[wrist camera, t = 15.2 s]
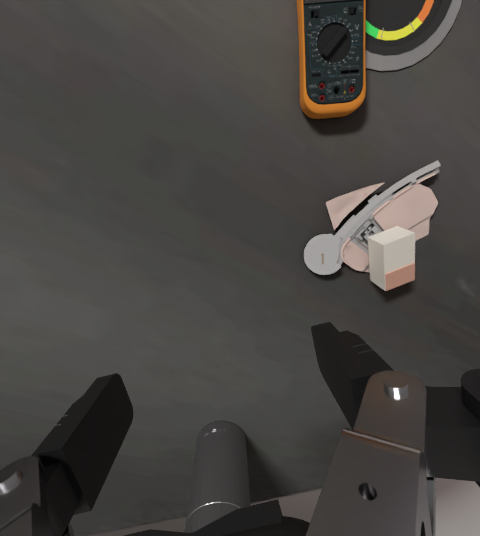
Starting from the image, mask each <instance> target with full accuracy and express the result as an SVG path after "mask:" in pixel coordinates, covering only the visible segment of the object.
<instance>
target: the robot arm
mask: <svg viewBox="0 0 480 536" xmlns="http://www.w3.org/2000/svg"><path fill="white" fill-rule="evenodd" d="M311 331H312V336H313V341H314V346H315V351H316V356H317V361H318V365H319V368H320V371H321V373H322V376H323V378H324V379H325V381H326V383H327V385H328V387H329V388H330V390H331V392H332V394H333V396H334V397H335V399H336V401H337V403H338V405H339V406H340V408H341V410H342V412H343V413H344V415H345V417H346V419H347V421H348V422H349V424H350V426H351V428H352V430H350V429H347V428H345V429H344V430H343V431H342V433H341V435H340V438H339V441H338V444H337V447H336V450H335V453H334V456H333V458H332V461H331V464H330V467H329V470H328V473H327V476H326V479H325V482H324V485H323V487H322V490H321V493H320V496H319V499H318V502H317V505H316V508H315V511H314V513H313V517H312V519H311V522H310V523H309V522H306V521H304V520H300V519H297V518H292V517H285V516H282V513H281V509H280V505H279V502H278V500H274V501H269V502H265V503H261V504H257V505H252V506H251V505H250V491H249V477H248V463H247V448H246V438H245V435H244V433H243V431H242V430H241V429H240V428H239V427H238V426H236V425H235V424H233V423H230V422H223V421H220V422H214V423H211V424H209V425H207V426H206V427H204V428H203V429H202V430H201V432H200V433H199V435H198V438H197V444H196V451H195V458H194V464H193V471H192V478H191V486H190V493H189V500H188V507H187V514H186V521H185V529H184V533H182V532H171V531H160V530H146V531H142V532H137V533H133V534H129V535H125V536H435V513H436V512H435V511H436V510H435V509H436V508H435V506H436V505H435V504H436V501H435V500H436V496H435V494H436V492H435V491H436V488H435V487H436V484H435V483H436V478H446V479H456V480H467V481H475V482H476V483H477V484H478V486H479V487H480V369H474V370H470V371H468V372H466V373H464V374H463V375H462V377H461V387H428V386H425V385H424V384H423V382H422V381H421V380H420V379H418V378H417V377H415V376H413V375H411V374H408V373H405V372H401V371H394V370H393V369H392V368H391V367H390V366H389V365H388V364H387V363H386V362H385V361H384V360H383V359H382V358H381V357H380V356H379V355H378V354H377V353H376V352H375V351H374V350H372V348H371V347H370V346H369V345H368V344H366V342H364V341H363V340H362V339H361V338H360V337H359V336H358V335H356V334H354V333H351V332H349V331H343V332H339V331H338V330H337V329H336V328H335V327H334V326H333V325H332V323H331V322H327V323H323V324H319V325H315V326H312V327H311ZM132 420H133V407H132V404H131V401H130V399H129V396H128V394H127V391H126V388H125V386H124V383H123V381H122V378H121V376H120V375H119V374H112V375H108V376H104V377H99V378H97V379H96V380H95V381H94V382H93V384H92V385H91V386H90V388H89V389H88V390H87V391H86V393H85V394H84V395H83V396H82V397H81V398H80V399H78V400H77V401H76V402H75V403H74V404H72V406H71V407H70V408H69V409H68V411H67V412H66V413H65V414H64V417H62V418H61V419H60V421H59V422H58V423H57V426H55V427H54V428H53V429H52V431H51V432H50V433H49V434H48V436H47V437H46V438H45V439H44V441H43V442H42V443H41V444H40V446H39V447H38V448H37V449H36V451H35V452H34V453H33V454H32V456H28V457H24V458H22V459H19V460H17V461H15V462H13V463H11V464H9V465H8V466H6V467H5V468H3V469H2V470H1V471H0V536H74V532H73V529H72V527H71V525H70V523H69V522H70V520H71V518H72V516H73V515H75V514H79V513H83V512H87V511H91V510H92V508H93V506H94V504H95V501H96V499H97V497H98V495H99V493H100V491H101V488H102V486H103V484H104V482H105V480H106V477H107V475H108V473H109V471H110V469H111V467H112V464H113V462H114V460H115V458H116V456H117V453H118V451H119V449H120V447H121V445H122V443H123V440H124V438H125V436H126V434H127V432H128V429H129V427H130V425H131V423H132Z"/></svg>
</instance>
